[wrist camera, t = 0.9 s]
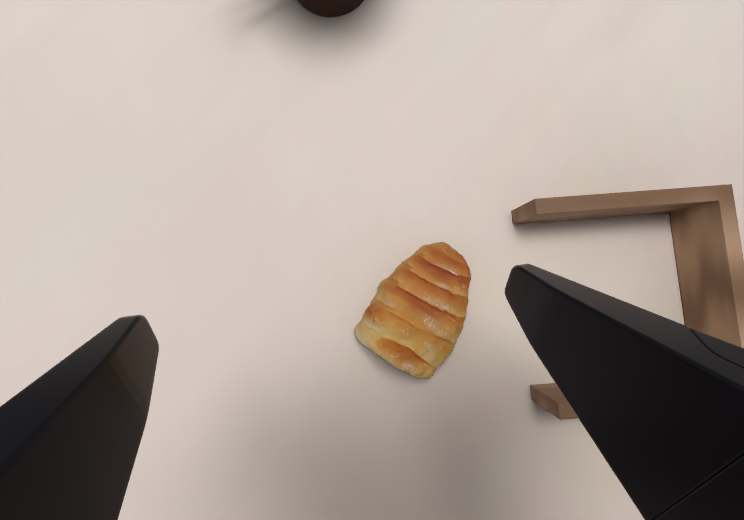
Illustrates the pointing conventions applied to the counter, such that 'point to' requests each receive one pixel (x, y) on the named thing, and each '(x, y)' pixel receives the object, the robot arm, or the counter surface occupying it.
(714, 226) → the box
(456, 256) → the pastry
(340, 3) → the coffee mug
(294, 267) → the counter surface
